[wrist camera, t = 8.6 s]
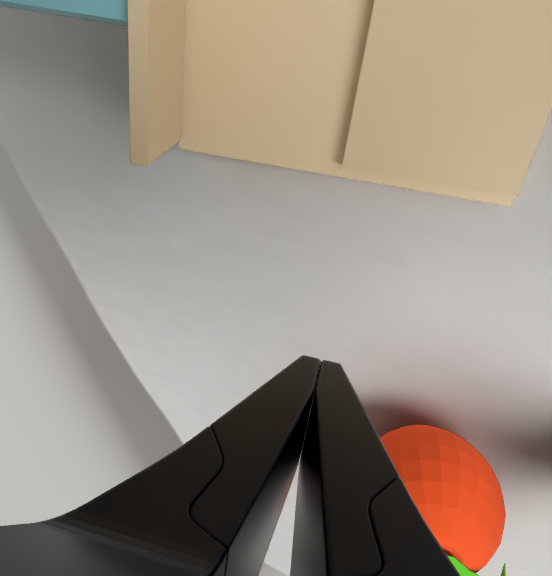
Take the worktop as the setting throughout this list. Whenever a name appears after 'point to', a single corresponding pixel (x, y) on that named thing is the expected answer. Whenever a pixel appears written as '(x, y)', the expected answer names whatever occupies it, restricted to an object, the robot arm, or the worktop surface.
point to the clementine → (451, 492)
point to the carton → (373, 89)
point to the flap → (140, 63)
